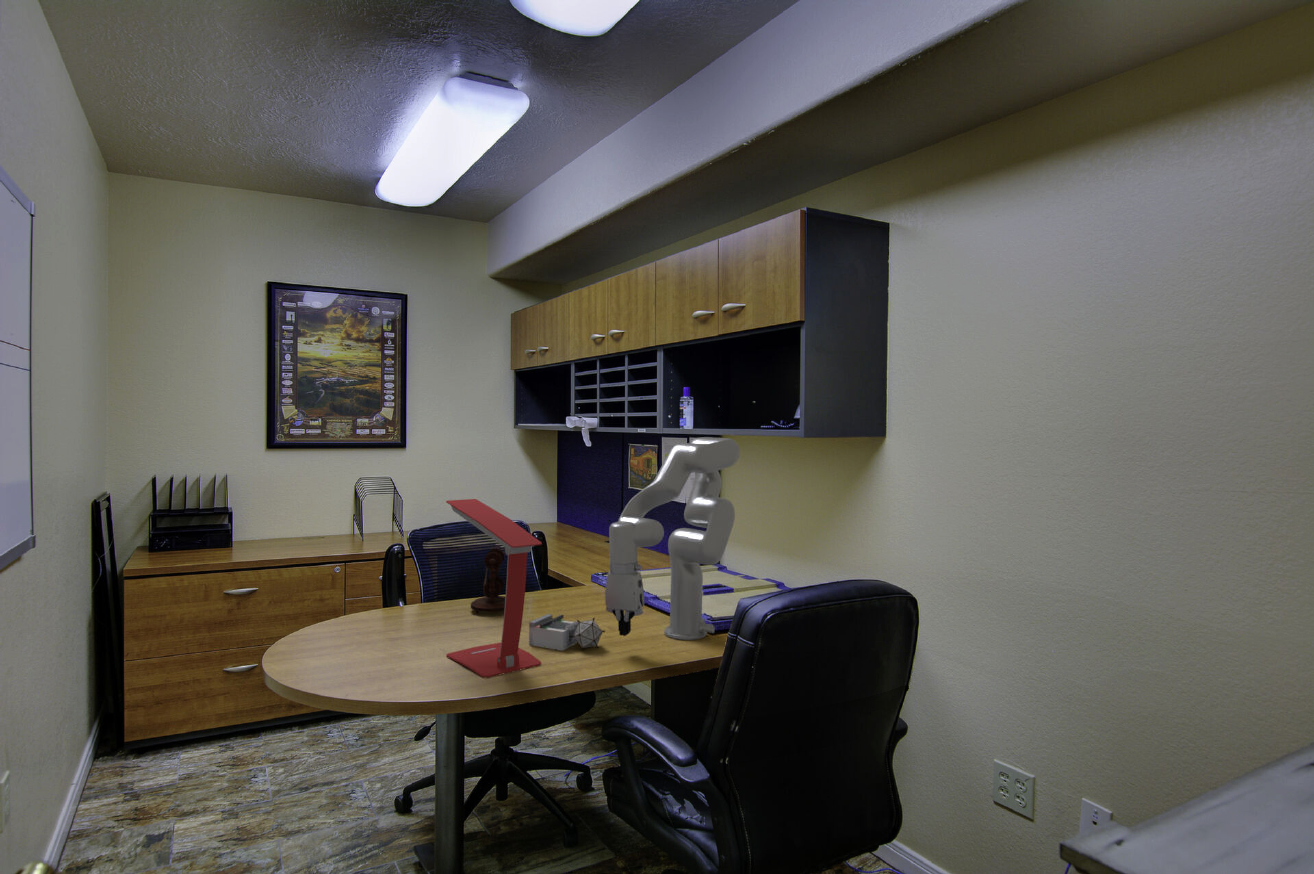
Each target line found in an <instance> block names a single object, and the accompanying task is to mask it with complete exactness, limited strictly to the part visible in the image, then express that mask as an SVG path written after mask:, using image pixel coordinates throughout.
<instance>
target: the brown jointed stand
mask: <svg viewBox="0 0 1314 874" xmlns="http://www.w3.org/2000/svg"><path fill="white" fill-rule="evenodd" d="M504 560H505V553H504V552H503V550H502V549H500V548H497V547H495V548H492V549H490V550H489V551H488V553H487V554H486V555H485V557H484V560H483V561H484V565H485V575H484V581H483V588H482V589H483V591H482V592H483V595H484V596H482V597H479V598H477V599H475V600H473V601H472V602H471V603H470V609H471V610H473V611H474V612H475V615H476V614H478V615H479V613H480V612H482V613H499V612H504V610H505V599H506V595H501V593H502V590H503V589H504V586H505V582H504V580H503V579H502V577H501V576H499V575H498V574H499V572H500V567H501V565H502V563H503V562H504ZM488 571H489V572H490V573H489V576H488ZM488 577H489V578H488ZM487 578H488V580H487Z"/></svg>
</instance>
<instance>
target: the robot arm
mask: <svg viewBox="0 0 1314 874" xmlns="http://www.w3.org/2000/svg"><path fill="white" fill-rule="evenodd" d="M740 453H741V450H740V446H739V443H738V442H737V441H735V440H734V439H733V438H729V437H711V436H705V437H704V436H703V437H695V438H694V439H692V440H691V441H690V442H688V443H687V442H683V443H677V444H675V445H673V447H671V448H670V450H669V451H668V454H667V456H666V457H665V459H664V461H663V463H662V465H661V467H660V469H659V470H658V472H657V474H656V476H655V477H654V479H653V481H652V482H651V483H650V484H649V485H647V486H645V487H644V488H643V489H642V490H640V491H639V492H638V493H637V494H635V495H634V496H633V497H632V498H631V499H630V500H629V501H628V503H627V504H626V505H625V507H624V509H623V510H622V512H621V514H620V516H619V517H618V521H616V522H612V523H611V524H610V525H609V527H608V528H609V529H608V530H609V531H608V534H609V535H608V537H609V539H608V540H609V542H608V544H609V546H608V547H609V571H608V572H607V576H606V581H605V582H606V583H605V591H604V595H605V596H604V601H605V603H604V604H605V606H606V607H605V610H606V612H608V613H611V614H613V615H614V617H615V618H616V621H618V624H617V625H618V628H617V629H618V632H619V633H618V634H619V636H623V637H627V635H629V634H630V633H631V630H632V628H631V627H632V624H631V623H632V621H631V620H632V619H633V618H634V617H636V616H641V615H642V614H644V611H643V607H644V606H645V593H644V592H645V590H644V583H643V578H642V573H641V571H642V569H643V566H642V565H641V564H639V561H638V548H641V547H643V548H644V547H647V548H648V547H654V546H657V545H658V544H659V543H660V542H661V541H662V540H663V538H664V535H665V530H664V526H663V525H662V523H660V522H659V521H658V520H656V519H651V518H645V515H647V513H648V512H650V511H651V510H653V509H654V508H656V507H659V506H662V505H665V504H666V503H667V504H668V503H669V502H672V501H674V500H676V499H678V498H679V497H680V495H681V492H682V491H683V489H684V487H685V485H686V483H687V481H688V479H689V477H690V476H691V474H692V473H694V481H693V484H692V487H691V491H690V493H689V496H688V499H687V502H686V505H685V508H684V513H683V517H684V521H685V522H686V523H687V524H689V525H692V526H695V527H697V528H698V527H700V528H704V529H706V530H700V529H696V528H691V527H690V528H687V527H682V528H677V529H675V530H673V531H672V533H671V534H670V536H669V538H668V542H667V546H668V547H667V549H668V555H669V561H670V598H669V599H670V600H669V601H670V604H669V605H670V606H669V607H670V609H669V613H670V614H669V626H666V627H665V629H664V635H665V636H667V637H669V638H671V639H675V640H682V641H693V640H699V639H704V638H705V637H706V636H707V633H710V634H714V633H715V630H716V627H715V626H714V624H710V623H706V618H703V617H702V616H703V581H704V577H703V571H702V568H701V565H706V566H714V565H717V564H718V563H719V562H720V561H721V560H722V558H723V555H724V554H725V551H726V548H727V545H728V542H729V538H730V536H731V533H732V530H733V527H734V523H735V516H736V511H735V507H734V504H733V503H732V502H731V501H730V500H729V499H727V498H725V497H720V493H721V489H722V485H723V483H722V477H721V475H720V472H719V471H721V470H724V469H727V468H730V467H733V466H734V465H736V463H738V462H737V461H739V458H740Z"/></svg>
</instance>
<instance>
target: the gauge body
mask: <svg viewBox="0 0 1314 874" xmlns="http://www.w3.org/2000/svg"><path fill="white" fill-rule="evenodd" d="M553 616H554V615H553V614H550V613H547V614H545V615H543V616H540V617H538V618H536V619H533V620H530V621H529V622H528V623H529V628H528V630H529V632H528V633H529V634H528V645H529V646H534V647H539V648H544V647H546V648H545V649H550V650H555V649H557V651H561V650H562V651H565V650H567V649H569V648H571V647H573V646H574V645H576V644H578V643H577V641H575V642H574V643H572V644H570V645H566V630H560V629H554V628H550V625H548V626H545V627H543V628H540V624H543V623H545V622H547V621H549V620H551V619H553V618H554V617H553ZM574 622H575V621H568V620H564V619H563V618H562V619H560V620H558V621H556V622H554V627H555V628H561V629H565V626H567V625H569V624H571V623H574ZM573 644H574V645H573ZM570 646H571V647H570ZM568 647H569V648H568ZM564 649H565V650H564Z"/></svg>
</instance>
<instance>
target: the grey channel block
mask: <svg viewBox="0 0 1314 874" xmlns="http://www.w3.org/2000/svg"><path fill="white" fill-rule="evenodd" d="M560 619H562V620H563V619H564V614H559V615H558V616H555V617H553V619H551V620H549V621H547V622H545V623H543V624H540V628H543V627H545V626H548V625H550V628H554V629H560V630H566V645H570V644H572V643H574V642H575V641H576V640H575V638H574V637H573V638H571V636H574V633H575V631H576V628H577V626H578V623H579V622H577V620H576V621H573V622H574V623H571V624H569V625H567V626H565V629H561V628H555V627H554V622H556V621H558V620H560Z"/></svg>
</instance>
